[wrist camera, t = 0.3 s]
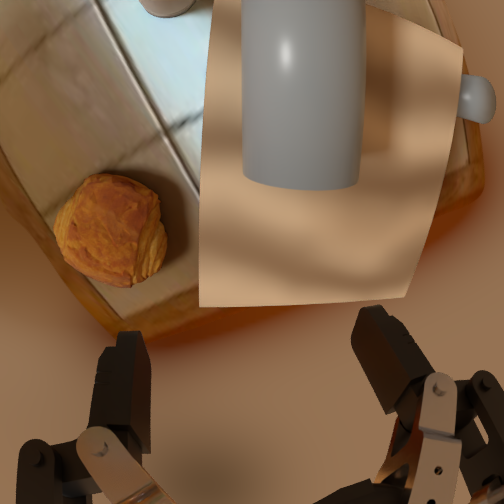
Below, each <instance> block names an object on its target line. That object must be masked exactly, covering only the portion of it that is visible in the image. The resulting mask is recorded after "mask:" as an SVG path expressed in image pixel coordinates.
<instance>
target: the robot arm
mask: <svg viewBox="0 0 504 504" xmlns="http://www.w3.org/2000/svg"><path fill="white" fill-rule="evenodd" d="M351 345H352V348H353V351H354V353H355V355H356V357H357V358H358V360H359V362H360V364H361V366H362V368H363V370H364V372H365V374H366V376H367V378H368V380H369V382H370V384H371V386H372V388H373V389H374V392H375V393H376V396H377V398H378V400H379V402H380V404H381V406H382V408H383V410H384V412H385V414H386V415H387V414H390V413H392V412H395V411H396V412H397V414H398V417H397V418H396V421H395V425H394V429H393V433H392V437H391V441H390V445H389V449H388V453H387V456H386V459H385V461H384V463H383V465H382V466H381V468H380V470H379V471H378V474H377V476H376V478H375V481H374V483H371V480H370V479H367V480H364V481H361V482H358V483H356V484H353V485H350V486H347V487H344V488H340V489H339V490H337V491H335V492H334V493H332V494H330V495H328V496H327V497H325V498H323V499H321V500H319V501H317V502H315V503H313V504H452V503H453V498H454V494H455V488H456V483H457V477H458V471H459V468H460V470H461V472H462V474H463V477H464V480H465V482H466V485H467V487H468V490H469V493H470V495H471V500H470V503H468V504H504V391H503V389H502V388H501V386H500V384H499V383H498V381H497V380H496V378H495V377H494V376H493V375H492V374H491V373H490V372H488V371H484V370H480V371H477V372H476V373H475V374H474V375H473V377H472V378H471V379H470V380H457V381H453V379H452V378H451V377H450V376H448V375H446V374H444V373H440V372H435V371H434V369H433V368H432V366H431V365H430V363H429V361H428V360H427V358H426V357H425V355H424V354H423V353H422V351H421V349H420V348H419V346H418V345H417V343H415V341H414V339H413V338H412V336H411V335H409V332H408V330H407V329H406V327H405V326H404V325H403V323H402V322H400V321H399V320H398V319H396V318H395V317H394V316H389V315H388V313H387V312H386V311H385V309H384V308H383V307H382V306H381V305H374V306H368V307H363V308H361V309H360V311H359V314H358V317H357V320H356V323H355V326H354V328H353V331H352V335H351ZM150 406H151V363H150V358H149V355H148V352H147V349H146V346H145V343H144V340H143V336H142V333H141V331H120V332H119V333H118V336H117V342H116V347H106V348H105V350H104V351H103V353H102V354H101V356H100V357H99V360H98V365H97V374H96V376H95V384H94V388H93V395H92V401H91V408H90V417H89V423H88V426H87V428H86V430H85V431H83V432H82V433H81V434H80V436H79V437H78V438H77V439H75V440H73V441H70V442H66V443H61V444H56V445H51V446H50V445H48V444H47V443H46V442H45V441H42V440H40V439H32V440H29V441H27V442H26V443H25V444H24V445H23V446H22V448H21V449H20V452H19V459H18V469H17V484H16V504H92V494H96V493H101V492H103V493H104V494H105V496H106V497H107V498H108V499H109V501H110V502H111V503H112V504H177V503H176V502H175V501H174V500H173V499H172V498H171V497H170V496H169V495H168V494H167V493H166V492H165V491H164V490H163V489H162V488H161V487H160V485H158V483H157V482H156V481H155V480H154V479H153V478H152V477H151V476H150V474H149V473H148V472H147V471H146V470H145V469H144V468H143V467H142V454H150V453H151V440H150V408H151V407H150ZM477 415H478V417H479V419H480V421H481V423H482V425H483V427H484V429H485V430H486V433H487V434H488V438H489V441H488V444H486V443H485V441H484V439H483V438H482V435H481V433H480V431H479V429H478V427H477V425H476V423H475V421H474V418H475V417H476V416H477Z"/></svg>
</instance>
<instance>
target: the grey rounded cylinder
mask: <svg viewBox="0 0 504 504" xmlns="http://www.w3.org/2000/svg"><path fill="white" fill-rule="evenodd" d="M495 110H496V96H495V92H494V89H493V87H492V85H491V83H490V82H489V81H488V80H487V79H486V78H484V77H479V76H473V75H464V74H461V84H460V93H459V101H458V108H457V115H456V116H457V117H461V118H464V119H468V120H471V121H475V122H478V123H481V124H485V123H488V122H490V121H491V119H492V118H493V116H494V114H495Z"/></svg>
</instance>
